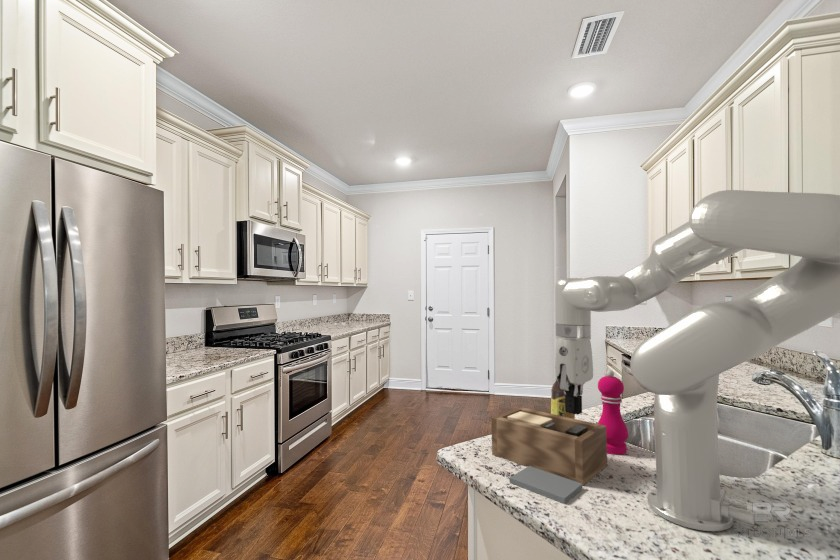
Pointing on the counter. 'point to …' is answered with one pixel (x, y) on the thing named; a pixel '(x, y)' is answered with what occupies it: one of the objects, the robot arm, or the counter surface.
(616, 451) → the pepper mill
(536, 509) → the counter surface
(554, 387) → the sauce bottle
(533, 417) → the maple block
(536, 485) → the slate board
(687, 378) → the robot arm
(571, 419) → the wooden box
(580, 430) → the rocker
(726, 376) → the counter surface
